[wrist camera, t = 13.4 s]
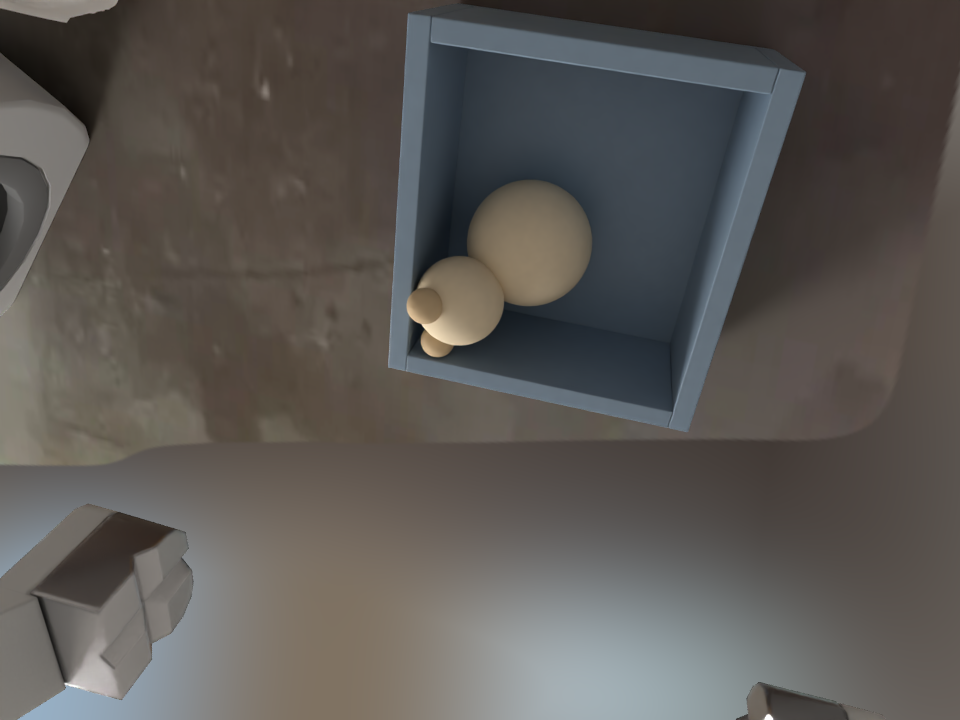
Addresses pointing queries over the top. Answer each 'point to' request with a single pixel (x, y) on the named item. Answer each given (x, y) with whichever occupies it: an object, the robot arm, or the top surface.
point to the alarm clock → (31, 171)
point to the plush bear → (503, 264)
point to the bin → (589, 195)
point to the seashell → (57, 7)
